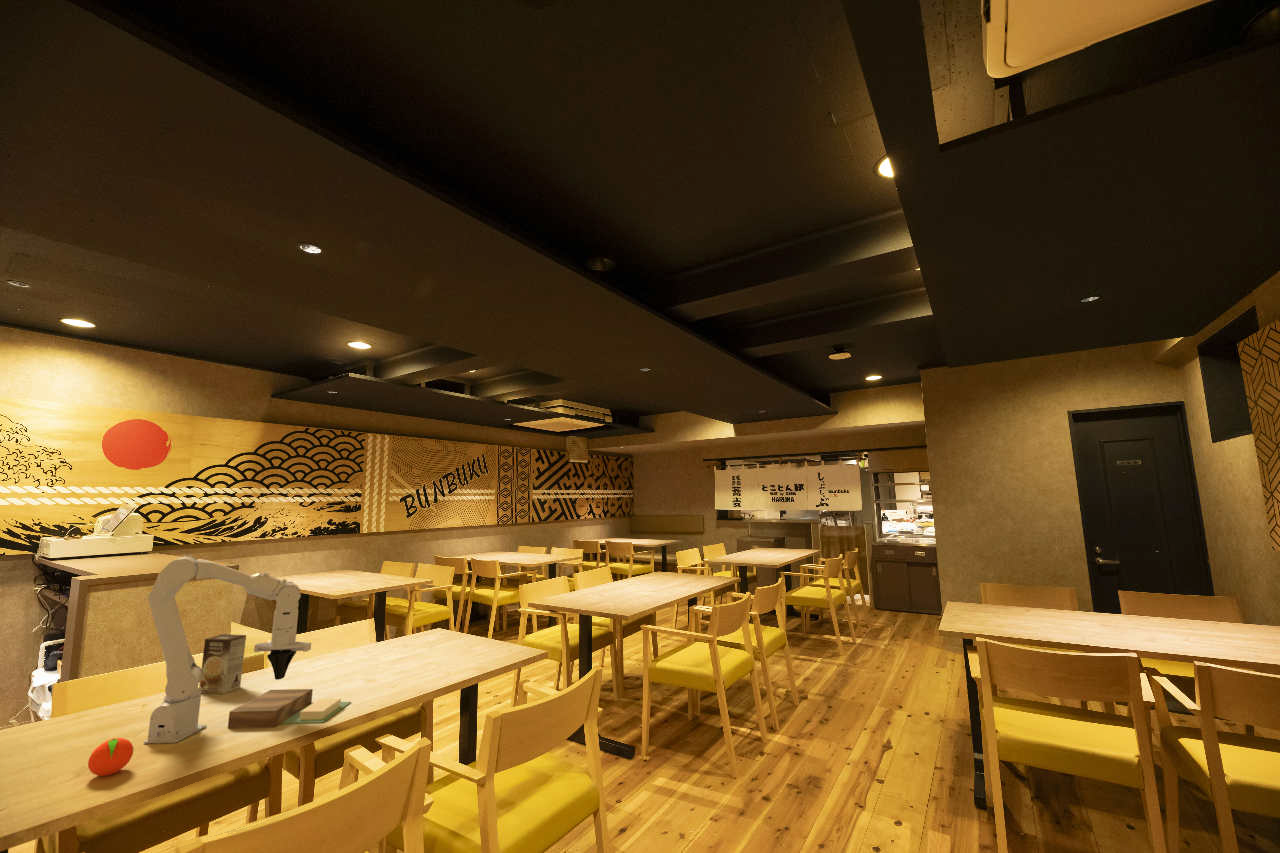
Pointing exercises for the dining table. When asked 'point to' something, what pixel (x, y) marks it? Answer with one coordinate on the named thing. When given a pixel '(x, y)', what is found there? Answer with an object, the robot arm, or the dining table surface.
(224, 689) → the coffee box
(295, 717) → the mat
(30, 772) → the dining table surface
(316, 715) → the tile
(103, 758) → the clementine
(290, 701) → the brown wooden block
